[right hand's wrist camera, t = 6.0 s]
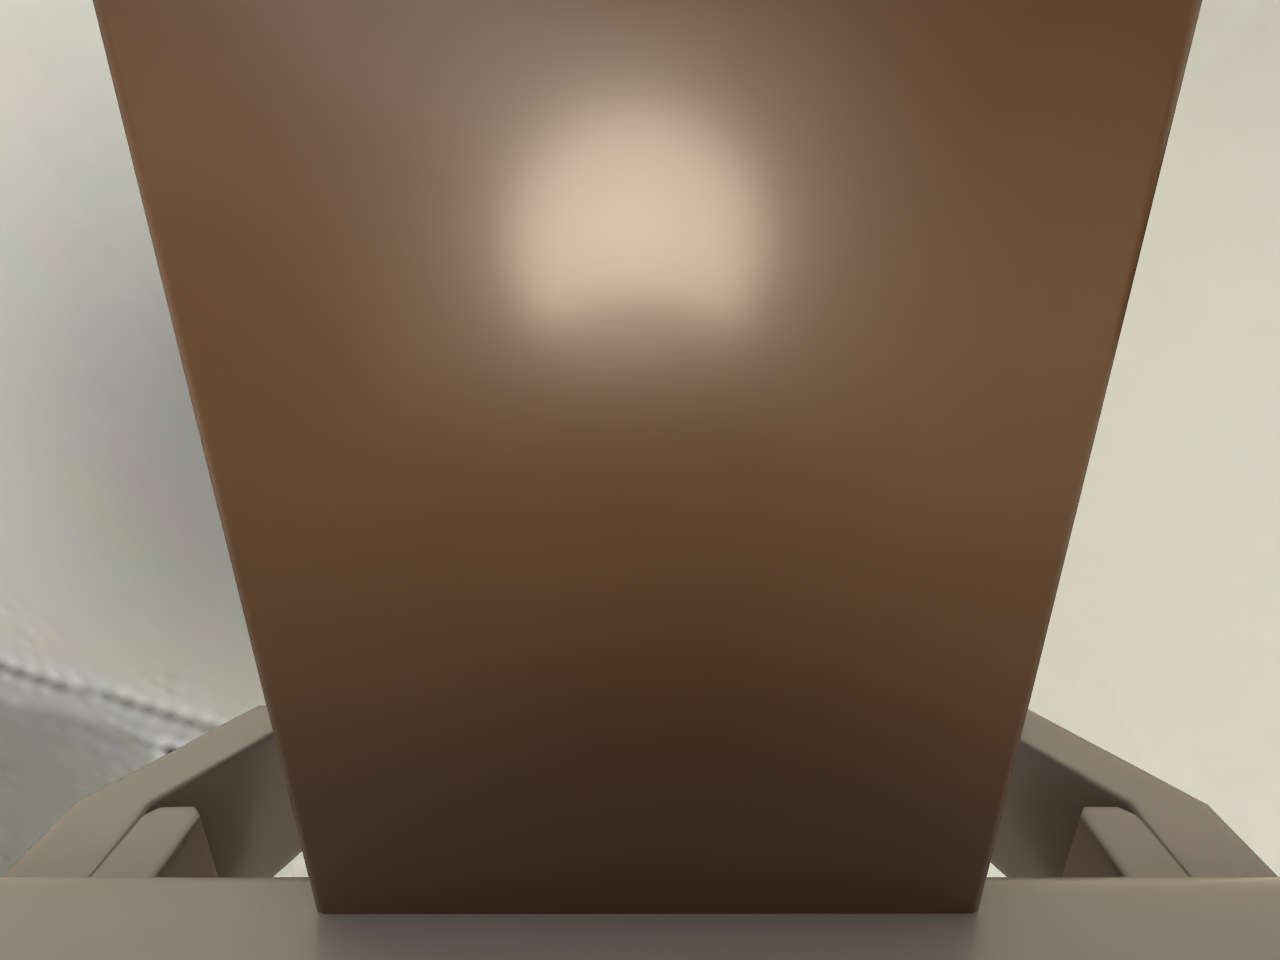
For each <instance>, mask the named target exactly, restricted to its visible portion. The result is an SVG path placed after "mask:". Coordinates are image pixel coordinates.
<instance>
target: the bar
mask: <svg viewBox="0 0 1280 960" xmlns="http://www.w3.org/2000/svg"><path fill="white" fill-rule="evenodd" d="M93 3H94V7H95V11H96V15H97V19H98V23H99V27H100V31H101V36H102V40H103V44H104V48H105V52H106V56H107V60H108V64H109V68H110V72H111V76H112V80H113V84H114V88H115V92H116V96H117V100H118V105H119V109H120V113H121V117H122V121H123V125H124V129H125V133H126V137H127V141H128V145H129V149H130V153H131V157H132V161H133V165H134V169H135V174H136V178H137V182H138V186H139V190H140V194H141V198H142V202H143V206H144V210H145V214H146V218H147V222H148V226H149V230H150V234H151V238H152V243H153V247H154V251H155V255H156V259H157V263H158V267H159V271H160V275H161V279H162V283H163V287H164V291H165V295H166V299H167V303H168V307H169V312H170V316H171V320H172V324H173V328H174V332H175V336H176V340H177V344H178V348H179V352H180V356H181V360H182V364H183V368H184V372H185V376H186V381H187V385H188V389H189V393H190V397H191V401H192V405H193V409H194V413H195V417H196V421H197V425H198V429H199V433H200V437H201V441H202V445H203V450H204V454H205V458H206V462H207V466H208V470H209V474H210V478H211V482H212V486H213V490H214V494H215V498H216V502H217V506H218V510H219V514H220V519H221V523H222V527H223V531H224V535H225V539H226V543H227V547H228V551H229V555H230V559H231V563H232V567H233V571H234V575H235V579H236V583H237V588H238V592H239V596H240V600H241V604H242V608H243V612H244V616H245V620H246V624H247V628H248V632H249V636H250V640H251V644H252V648H253V652H254V657H255V661H256V665H257V669H258V673H259V677H260V681H261V685H262V689H263V693H264V697H265V701H266V705H267V709H268V713H269V717H270V721H271V725H272V730H273V734H274V738H275V742H276V746H277V750H278V754H279V758H280V762H281V766H282V770H283V774H284V778H285V782H286V786H287V790H288V794H289V799H290V803H291V807H292V811H293V815H294V819H295V823H296V827H297V831H298V835H299V839H300V843H301V847H302V851H303V855H304V859H305V863H306V868H307V872H308V876H309V880H310V884H311V888H312V892H313V896H314V900H315V904H316V908H317V911H318V912H320V913H323V914H972V913H974V912H976V911H978V909H979V905H980V901H981V897H982V893H983V889H984V885H985V881H986V877H987V872H988V868H989V864H990V860H991V856H992V852H993V848H994V844H995V840H996V836H997V832H998V828H999V824H1000V820H1001V816H1002V812H1003V807H1004V803H1005V799H1006V795H1007V791H1008V787H1009V783H1010V779H1011V775H1012V771H1013V767H1014V763H1015V759H1016V755H1017V751H1018V747H1019V742H1020V738H1021V734H1022V730H1023V726H1024V722H1025V718H1026V714H1027V710H1028V706H1029V702H1030V698H1031V694H1032V690H1033V686H1034V682H1035V677H1036V673H1037V669H1038V665H1039V661H1040V657H1041V653H1042V649H1043V645H1044V641H1045V637H1046V633H1047V629H1048V625H1049V621H1050V617H1051V612H1052V608H1053V604H1054V600H1055V596H1056V592H1057V588H1058V584H1059V580H1060V576H1061V572H1062V568H1063V564H1064V560H1065V556H1066V552H1067V547H1068V543H1069V539H1070V535H1071V531H1072V527H1073V523H1074V519H1075V515H1076V511H1077V507H1078V503H1079V499H1080V495H1081V491H1082V487H1083V482H1084V478H1085V474H1086V470H1087V466H1088V462H1089V458H1090V454H1091V450H1092V446H1093V442H1094V438H1095V434H1096V430H1097V426H1098V422H1099V417H1100V413H1101V409H1102V405H1103V401H1104V397H1105V393H1106V389H1107V385H1108V381H1109V377H1110V373H1111V369H1112V365H1113V361H1114V357H1115V352H1116V348H1117V344H1118V340H1119V336H1120V332H1121V328H1122V324H1123V320H1124V316H1125V312H1126V308H1127V304H1128V300H1129V296H1130V292H1131V287H1132V283H1133V279H1134V275H1135V271H1136V267H1137V263H1138V259H1139V255H1140V251H1141V247H1142V243H1143V239H1144V235H1145V231H1146V227H1147V222H1148V218H1149V214H1150V210H1151V206H1152V202H1153V198H1154V194H1155V190H1156V186H1157V182H1158V178H1159V174H1160V170H1161V166H1162V162H1163V157H1164V153H1165V149H1166V145H1167V141H1168V137H1169V133H1170V129H1171V125H1172V121H1173V117H1174V113H1175V109H1176V105H1177V101H1178V97H1179V92H1180V88H1181V84H1182V80H1183V76H1184V72H1185V68H1186V64H1187V60H1188V56H1189V52H1190V48H1191V44H1192V40H1193V36H1194V32H1195V27H1196V23H1197V19H1198V15H1199V11H1200V7H1201V3H1202V0H93Z"/></svg>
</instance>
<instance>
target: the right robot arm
mask: <svg viewBox="0 0 1280 960" xmlns="http://www.w3.org/2000/svg"><path fill="white" fill-rule="evenodd" d="M301 851H302V847H301V843H300V839H299V835H298V831H297V827H296V823H295V819H294V815H293V811H292V807H291V803H290V799H289V794H288V790H287V786H286V782H285V778H284V774H283V770H282V766H281V762H280V758H279V754H278V750H277V746H276V742H275V738H274V734H273V730H272V725H271V721H270V717H269V713H268V709H267V706H257V707H255V708H254V709H252V710H250V711H248V712H246V713H244V714H242V715H240V716H238V717H237V718H235V719H233V720H231V721H229V722H227V723H225V724H223V725H221V726H220V727H218V728H216V729H214V730H212V731H210V732H208V733H206V734H204V735H203V736H201V737H199V738H197V739H195V740H193V741H191V742H189V743H188V744H186V745H184V746H182V747H180V748H178V749H176V750H174V751H172V752H171V753H169V754H167V755H165V756H163V757H161V758H159V759H157V760H155V761H154V762H152V763H150V764H148V765H146V766H144V767H142V768H140V769H138V770H137V771H135V772H133V773H131V774H129V775H127V776H125V777H123V778H121V779H120V780H118V781H116V782H114V783H112V784H110V785H108V786H106V787H105V788H103V789H101V790H99V791H97V792H95V793H93V794H91V795H89V796H88V797H86V798H84V799H82V800H80V801H78V802H76V803H74V804H73V805H72V806H71V807H70V808H69V809H68V810H67V811H66V812H65V813H64V814H63V815H62V816H61V817H60V818H59V819H58V820H57V821H56V822H55V823H54V824H53V825H52V826H51V827H50V828H49V829H48V830H47V831H46V832H45V833H44V834H43V836H42V837H41V838H40V839H39V840H38V841H37V842H36V843H35V844H34V845H33V846H32V847H31V848H30V849H29V850H28V851H27V852H26V853H25V854H24V855H23V856H22V857H21V858H20V859H19V860H18V861H17V862H16V863H15V864H14V865H13V866H12V867H11V868H10V869H9V870H8V871H7V872H6V873H5V874H4V875H3V876H2V877H0V960H1280V877H1278V876H1277V875H1276V874H1275V873H1274V872H1273V871H1272V870H1271V869H1270V868H1269V867H1268V866H1267V865H1266V864H1265V863H1264V862H1263V861H1262V860H1261V859H1260V858H1259V857H1258V856H1257V855H1256V854H1255V853H1254V852H1253V851H1252V850H1251V849H1250V848H1249V847H1248V846H1247V845H1246V844H1245V843H1244V842H1243V840H1242V839H1241V838H1240V837H1239V836H1238V835H1237V834H1236V833H1235V832H1234V831H1233V830H1232V829H1231V828H1230V827H1229V826H1228V825H1227V824H1226V823H1225V822H1224V821H1223V820H1222V819H1221V818H1220V817H1219V816H1218V815H1217V814H1216V813H1215V812H1214V811H1213V810H1212V809H1211V808H1210V807H1209V806H1208V805H1207V804H1205V803H1203V802H1201V801H1199V800H1197V799H1196V798H1194V797H1192V796H1190V795H1188V794H1186V793H1184V792H1182V791H1181V790H1179V789H1177V788H1175V787H1173V786H1171V785H1169V784H1167V783H1166V782H1164V781H1162V780H1160V779H1158V778H1156V777H1154V776H1152V775H1150V774H1149V773H1147V772H1145V771H1143V770H1141V769H1139V768H1137V767H1135V766H1134V765H1132V764H1130V763H1128V762H1126V761H1124V760H1122V759H1120V758H1119V757H1117V756H1115V755H1113V754H1111V753H1109V752H1107V751H1105V750H1103V749H1102V748H1100V747H1098V746H1096V745H1094V744H1092V743H1090V742H1088V741H1087V740H1085V739H1083V738H1081V737H1079V736H1077V735H1075V734H1073V733H1071V732H1070V731H1068V730H1066V729H1064V728H1062V727H1060V726H1058V725H1056V724H1055V723H1053V722H1051V721H1049V720H1047V719H1045V718H1043V717H1041V716H1040V715H1038V714H1036V713H1034V712H1032V711H1030V710H1027V714H1026V718H1025V722H1024V726H1023V730H1022V734H1021V738H1020V742H1019V747H1018V751H1017V755H1016V759H1015V763H1014V767H1013V771H1012V775H1011V779H1010V783H1009V787H1008V791H1007V795H1006V799H1005V803H1004V807H1003V812H1002V816H1001V820H1000V824H999V828H998V832H997V836H996V840H995V844H994V848H993V852H992V856H991V860H990V862H991V863H992V864H993V865H994V866H995V867H996V868H998V869H999V870H1000V871H1001V872H1002V873H1003V874H1004V875H1005V876H1006V877H986V881H985V885H984V889H983V893H982V897H981V901H980V905H979V909H978V911H976V912H974V913H972V914H323V913H320V912H318V911H317V908H316V904H315V900H314V896H313V892H312V888H311V884H310V880H309V877H274V876H275V875H276V874H277V873H278V872H279V871H280V870H281V869H283V868H284V867H285V866H286V865H287V864H288V863H289V862H290V861H291V860H293V859H294V858H295V857H296V856H297V855H298V854H299V853H300V852H301Z"/></svg>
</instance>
